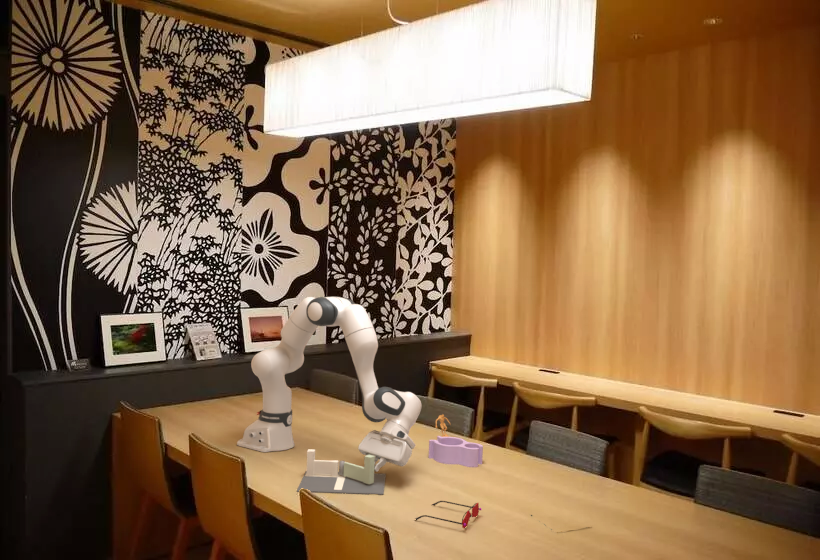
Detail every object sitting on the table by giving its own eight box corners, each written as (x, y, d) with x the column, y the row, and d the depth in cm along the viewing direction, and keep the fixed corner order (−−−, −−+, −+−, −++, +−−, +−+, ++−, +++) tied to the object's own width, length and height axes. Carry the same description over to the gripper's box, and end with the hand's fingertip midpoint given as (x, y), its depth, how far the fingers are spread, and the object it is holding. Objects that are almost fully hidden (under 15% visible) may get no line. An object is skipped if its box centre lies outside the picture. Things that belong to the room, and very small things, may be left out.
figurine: (441, 447, 270) (442, 417, 270) (430, 443, 275) (431, 414, 274) (455, 443, 276) (456, 415, 275) (445, 440, 280) (446, 412, 280)
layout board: (296, 491, 217) (296, 490, 217) (305, 471, 236) (305, 470, 236) (383, 495, 217) (383, 493, 217) (385, 474, 236) (385, 473, 236)
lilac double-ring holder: (486, 461, 255) (487, 443, 255) (472, 470, 244) (473, 451, 244) (440, 451, 265) (441, 434, 265) (424, 459, 255) (425, 441, 254)
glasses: (465, 534, 191) (465, 516, 190) (412, 521, 198) (413, 505, 197) (481, 517, 203) (482, 500, 203) (431, 506, 210) (432, 490, 210)
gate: (337, 474, 231) (338, 448, 231) (342, 472, 233) (342, 447, 233) (369, 484, 223) (370, 457, 222) (373, 482, 225) (374, 456, 224)
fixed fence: (338, 475, 233) (338, 450, 232) (337, 478, 230) (338, 452, 230) (307, 474, 233) (308, 449, 232) (306, 477, 230) (307, 451, 230)
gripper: (367, 424, 238) (346, 457, 231) (411, 436, 224) (390, 472, 218) (375, 434, 241) (355, 467, 234) (419, 446, 228) (399, 482, 221)
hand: (372, 469), depth 226 cm, fingers closed
